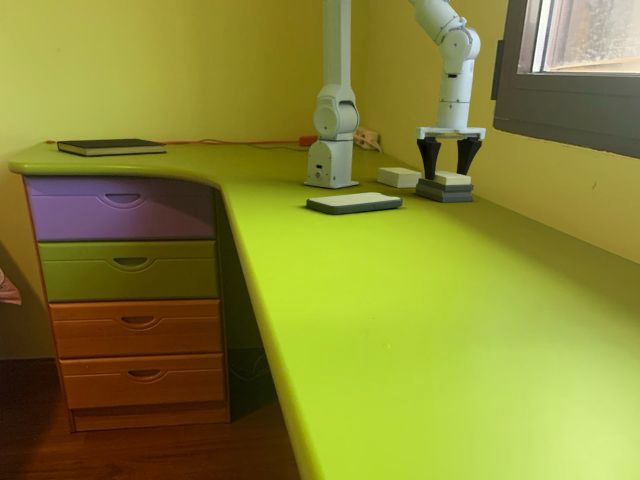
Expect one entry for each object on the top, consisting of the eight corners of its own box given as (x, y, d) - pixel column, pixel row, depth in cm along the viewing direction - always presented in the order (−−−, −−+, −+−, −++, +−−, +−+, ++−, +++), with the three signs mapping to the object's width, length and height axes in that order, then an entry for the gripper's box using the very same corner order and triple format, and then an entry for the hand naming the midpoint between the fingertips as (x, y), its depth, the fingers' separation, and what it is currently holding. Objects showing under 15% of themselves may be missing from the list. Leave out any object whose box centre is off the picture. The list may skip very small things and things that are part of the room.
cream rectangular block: (421, 187, 147) (423, 173, 145) (397, 187, 145) (398, 173, 143) (399, 180, 154) (400, 167, 153) (376, 181, 152) (377, 167, 151)
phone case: (332, 217, 114) (405, 208, 122) (332, 207, 113) (406, 198, 121) (303, 208, 120) (374, 200, 129) (303, 198, 120) (374, 191, 128)
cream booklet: (470, 184, 131) (471, 176, 131) (445, 185, 129) (446, 177, 129) (444, 177, 139) (445, 170, 138) (420, 178, 136) (421, 170, 136)
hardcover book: (166, 152, 185) (165, 143, 184) (86, 156, 171) (85, 147, 170) (135, 146, 196) (135, 138, 194) (57, 150, 181) (56, 140, 180)
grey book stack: (472, 201, 133) (474, 184, 131) (442, 202, 130) (444, 185, 129) (443, 193, 141) (445, 177, 139) (415, 193, 138) (416, 178, 137)
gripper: (432, 102, 122) (424, 183, 128) (499, 103, 127) (488, 181, 133) (411, 100, 127) (404, 177, 133) (476, 101, 133) (467, 176, 139)
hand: (445, 179), depth 134 cm, fingers open, 7 cm apart
